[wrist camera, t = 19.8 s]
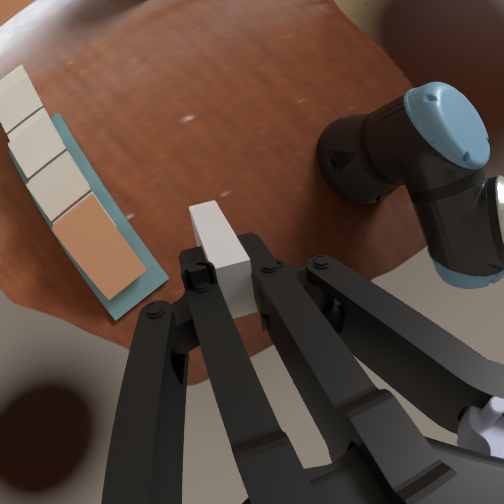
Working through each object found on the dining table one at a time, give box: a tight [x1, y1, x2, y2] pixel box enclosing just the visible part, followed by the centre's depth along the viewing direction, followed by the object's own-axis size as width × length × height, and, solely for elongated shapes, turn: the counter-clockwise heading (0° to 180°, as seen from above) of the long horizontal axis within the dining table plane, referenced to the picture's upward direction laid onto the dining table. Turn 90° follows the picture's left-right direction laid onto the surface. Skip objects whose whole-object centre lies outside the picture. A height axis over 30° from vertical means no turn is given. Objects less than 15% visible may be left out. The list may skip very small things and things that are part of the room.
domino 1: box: [0, 64, 27, 95], centre depth 32 cm, size 2×6×11 cm
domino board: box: [8, 112, 169, 321], centre depth 37 cm, size 28×9×1 cm, turn 37°
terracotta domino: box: [52, 193, 147, 300], centre depth 34 cm, size 2×6×11 cm
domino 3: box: [8, 114, 89, 185], centre depth 32 cm, size 2×6×11 cm
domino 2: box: [0, 76, 63, 142], centre depth 31 cm, size 2×6×11 cm
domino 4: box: [26, 152, 117, 227], centre depth 33 cm, size 2×6×11 cm
